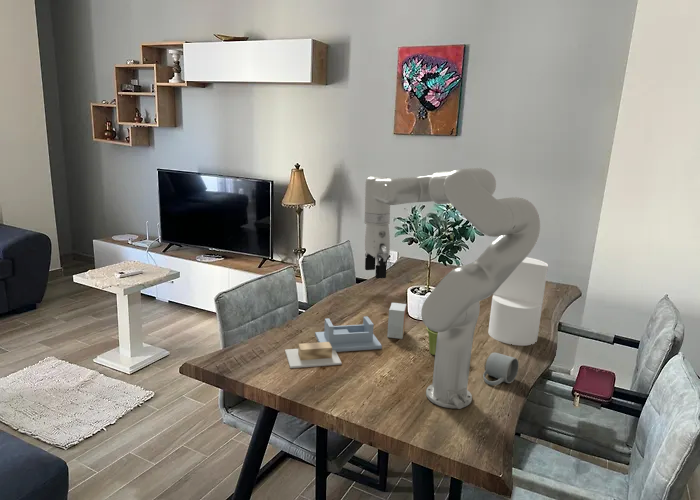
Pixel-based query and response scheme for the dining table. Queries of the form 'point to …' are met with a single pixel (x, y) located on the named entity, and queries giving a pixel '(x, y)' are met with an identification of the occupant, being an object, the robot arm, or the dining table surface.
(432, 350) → the plant pot
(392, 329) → the small box
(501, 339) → the cylinder
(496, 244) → the robot arm
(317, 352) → the oak block
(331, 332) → the jig
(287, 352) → the mat
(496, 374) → the ceramic mug
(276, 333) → the dining table surface
